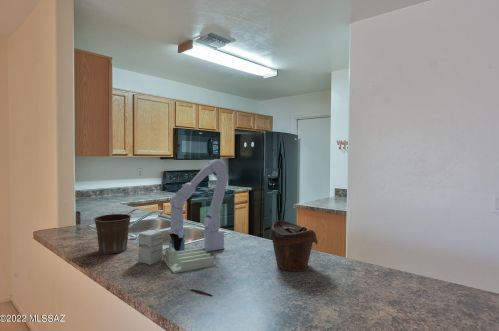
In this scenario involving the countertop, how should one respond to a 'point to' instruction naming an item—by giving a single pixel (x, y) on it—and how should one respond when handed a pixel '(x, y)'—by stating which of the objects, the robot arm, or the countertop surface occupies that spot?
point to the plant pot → (112, 232)
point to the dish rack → (187, 259)
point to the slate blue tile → (181, 245)
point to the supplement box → (150, 246)
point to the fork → (193, 290)
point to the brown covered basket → (292, 245)
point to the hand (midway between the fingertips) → (176, 249)
